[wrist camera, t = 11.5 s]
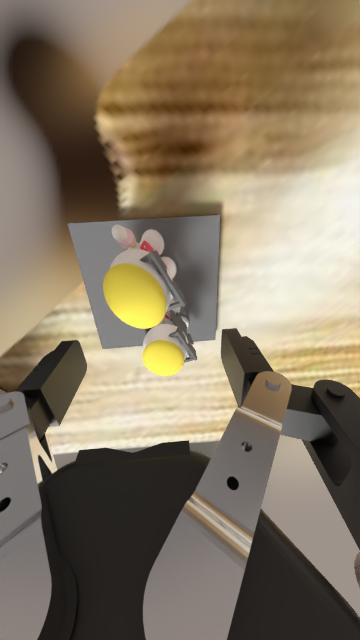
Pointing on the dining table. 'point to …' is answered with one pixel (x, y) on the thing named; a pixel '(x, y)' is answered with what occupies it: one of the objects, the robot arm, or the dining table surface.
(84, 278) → the mat
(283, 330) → the dining table surface
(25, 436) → the robot arm
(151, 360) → the toy figures
